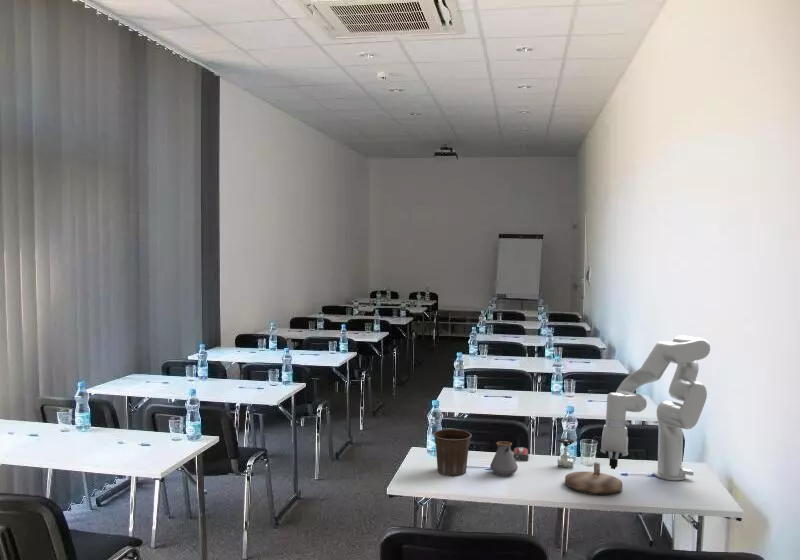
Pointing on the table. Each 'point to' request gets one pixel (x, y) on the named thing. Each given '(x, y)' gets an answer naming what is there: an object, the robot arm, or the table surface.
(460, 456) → the plant pot
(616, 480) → the turntable platter
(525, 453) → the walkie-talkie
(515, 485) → the table surface
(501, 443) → the coffee pot
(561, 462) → the valve
